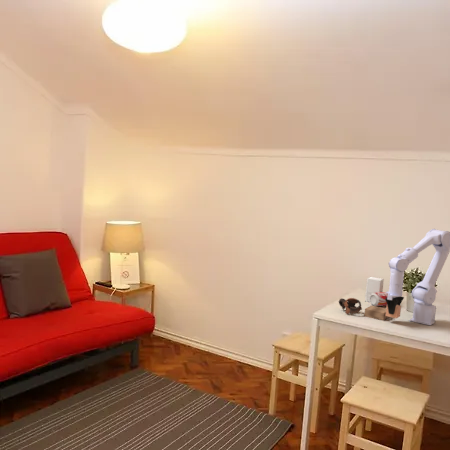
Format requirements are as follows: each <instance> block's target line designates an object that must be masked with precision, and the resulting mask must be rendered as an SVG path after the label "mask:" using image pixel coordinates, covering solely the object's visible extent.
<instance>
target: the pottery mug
mask: <svg viewBox="0 0 450 450" xmlns="http://www.w3.org/2000/svg"><path fill="white" fill-rule="evenodd" d="M338 304H339V306H340V307H341V309H342V310H345V312H344V313H345V314H346V315H349V314H356V313H357V314H358V312H360V311H362V310H363V308H362V302H361V300H359V299H357V298H354V297H349V298H347V299H345V298H339V300H338ZM356 304H358V306H356Z"/></svg>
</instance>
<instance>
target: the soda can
mask: <svg viewBox="0 0 450 450" xmlns="http://www.w3.org/2000/svg"><path fill="white" fill-rule="evenodd" d="M386 292H387V291H385V292H384V291H383V292H378V293H372V294H371V296H370V302H369V303H370V304H371V306H376V307H387V302H386V300H385V298H387V297H388V294H387V293H386Z"/></svg>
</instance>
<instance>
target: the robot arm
mask: <svg viewBox="0 0 450 450" xmlns="http://www.w3.org/2000/svg"><path fill="white" fill-rule="evenodd" d="M431 245H432V246H433V248H434V250H435V252H434V255H433V257H432V259H431V262H430V264H429V265H428V267H427V270H426V273H425V275H424V277H423V279H422V280H421V281H420V282H417V283H416V286H415V287H414V288H413V289H412V291H411V297H412V299H413V302H414V303H413V309H412V310H413V312H412V318H410V319H409V321H410V322H414V323H417V324H422V325H426V326H427V325H428V326H432V325H433V324H434V323H436V312H437V307H436V305H435V304H433V303H435V301H436V298H437V297H436V295H437V292H438V291H437V289H436V283H437V281H438V278H439V276H440V274H441V273H442V270H443V267H444V265H445V263H446V261H447V259H448V256H449V254H450V231H448V230H443V229H436V228H432V229H430V230H428V231H427V232H426V233H425V236H424V237H423V238H422V239H420V240H419V241H418V243H416V244H415V245H414V246H413V247H406V248H405V249H404V251H402V253H399V254H398V255H397V256H394V257H392V258H390V260H389V262H388V267H389V271H390V275H389V276H390V277H389V285H388V286H389V287H388V290H387V291H385V292H386V293H387V294H388V297H387V298H385V300H386V302H387V306H388V312H389V314H394V312H395V308H396V305H402V302H403V300H404V298H405V297H404V296H403V287H404V277H405V271H407V269H408V267H409V265H410V264H411V263H412V262H414V260H416V259H417V258H418V257H419V254H420V253H421V252H422V251H424V250H425V249H427V248H428V247H429V246H431ZM387 306H386V307H387Z"/></svg>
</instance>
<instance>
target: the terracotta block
mask: <svg viewBox="0 0 450 450" xmlns="http://www.w3.org/2000/svg"><path fill="white" fill-rule="evenodd" d="M385 307H386V308H385V309H386V316H388V318H393V319H398V318H399V317H401V311H402V310H401V309H402V304H400V305H396V308H395V312H394V314H389V312H388V306H385Z"/></svg>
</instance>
